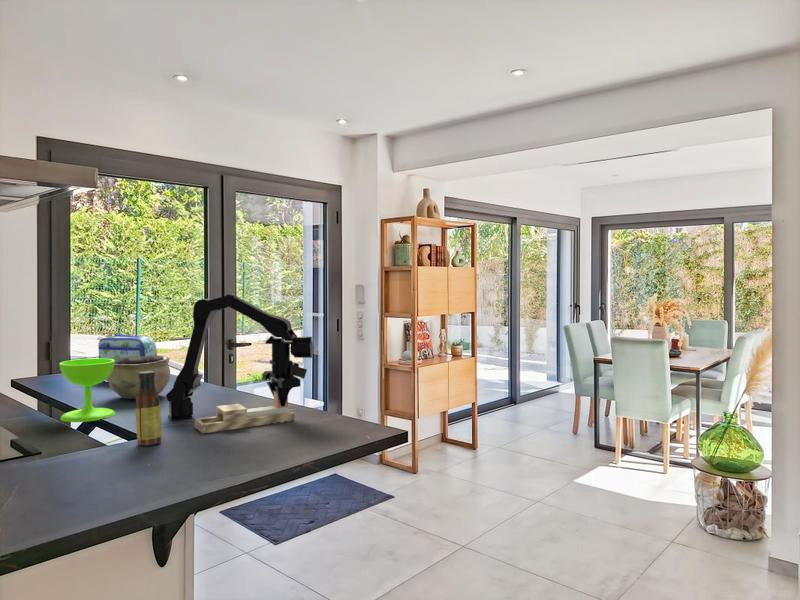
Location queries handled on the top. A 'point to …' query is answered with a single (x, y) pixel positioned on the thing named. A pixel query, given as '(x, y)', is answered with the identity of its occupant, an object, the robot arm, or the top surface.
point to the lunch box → (126, 347)
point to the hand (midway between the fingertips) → (280, 405)
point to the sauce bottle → (148, 411)
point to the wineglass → (87, 386)
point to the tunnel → (236, 419)
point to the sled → (269, 409)
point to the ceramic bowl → (127, 374)
